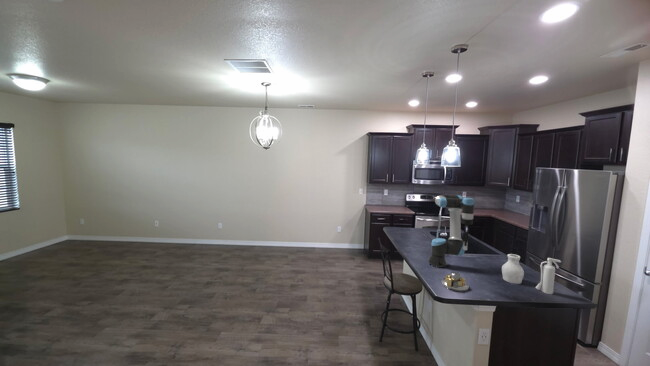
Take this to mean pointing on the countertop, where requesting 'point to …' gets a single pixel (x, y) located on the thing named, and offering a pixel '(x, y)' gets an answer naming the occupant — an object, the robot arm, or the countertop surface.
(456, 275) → the flange
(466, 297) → the countertop surface
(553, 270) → the fire extinguisher
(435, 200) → the robot arm
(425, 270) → the countertop surface
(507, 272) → the vase
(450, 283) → the gold crown ring
